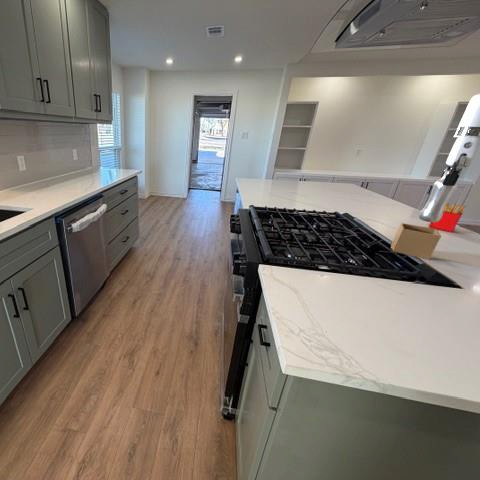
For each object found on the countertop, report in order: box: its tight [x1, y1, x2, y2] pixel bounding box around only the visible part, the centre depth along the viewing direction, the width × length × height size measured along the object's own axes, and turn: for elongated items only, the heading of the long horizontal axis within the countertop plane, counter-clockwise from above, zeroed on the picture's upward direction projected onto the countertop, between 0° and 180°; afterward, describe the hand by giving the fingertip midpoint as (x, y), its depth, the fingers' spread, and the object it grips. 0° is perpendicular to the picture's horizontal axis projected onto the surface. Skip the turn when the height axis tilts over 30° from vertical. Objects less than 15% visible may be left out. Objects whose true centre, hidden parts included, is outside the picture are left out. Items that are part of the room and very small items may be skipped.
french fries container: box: [428, 202, 466, 233], centre depth 138 cm, size 7×9×14 cm
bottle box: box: [390, 222, 442, 260], centre depth 106 cm, size 11×10×12 cm
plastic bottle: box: [418, 170, 459, 223], centre depth 98 cm, size 6×7×20 cm
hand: (446, 183), depth 96 cm, fingers closed on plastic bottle, 6 cm apart
